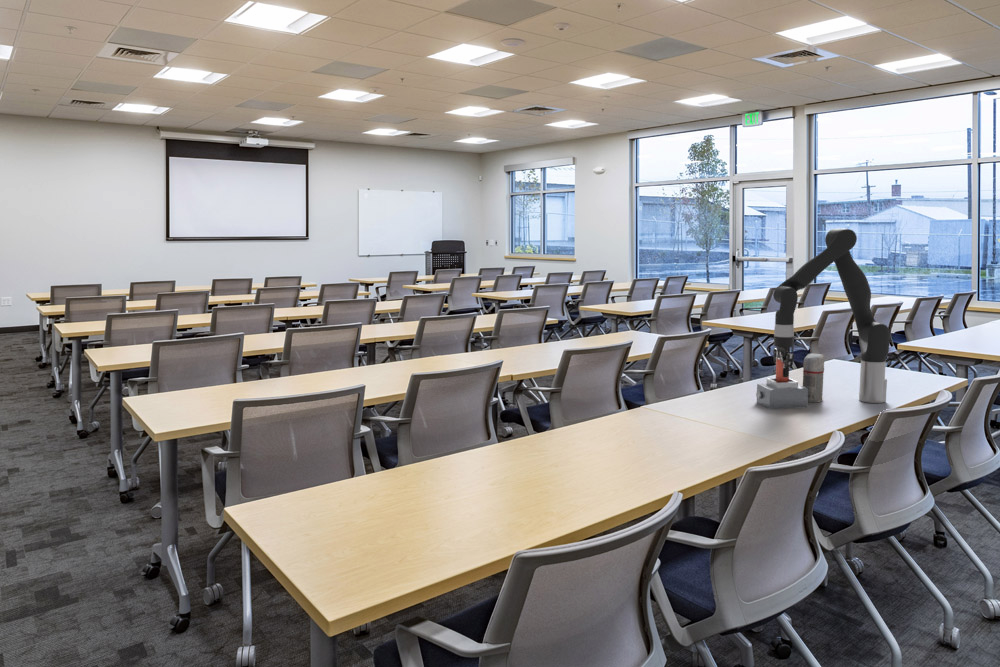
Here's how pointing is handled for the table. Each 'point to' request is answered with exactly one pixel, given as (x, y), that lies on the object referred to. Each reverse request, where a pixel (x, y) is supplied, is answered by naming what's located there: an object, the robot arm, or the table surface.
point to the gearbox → (782, 394)
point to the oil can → (780, 371)
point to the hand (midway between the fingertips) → (782, 375)
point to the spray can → (813, 376)
